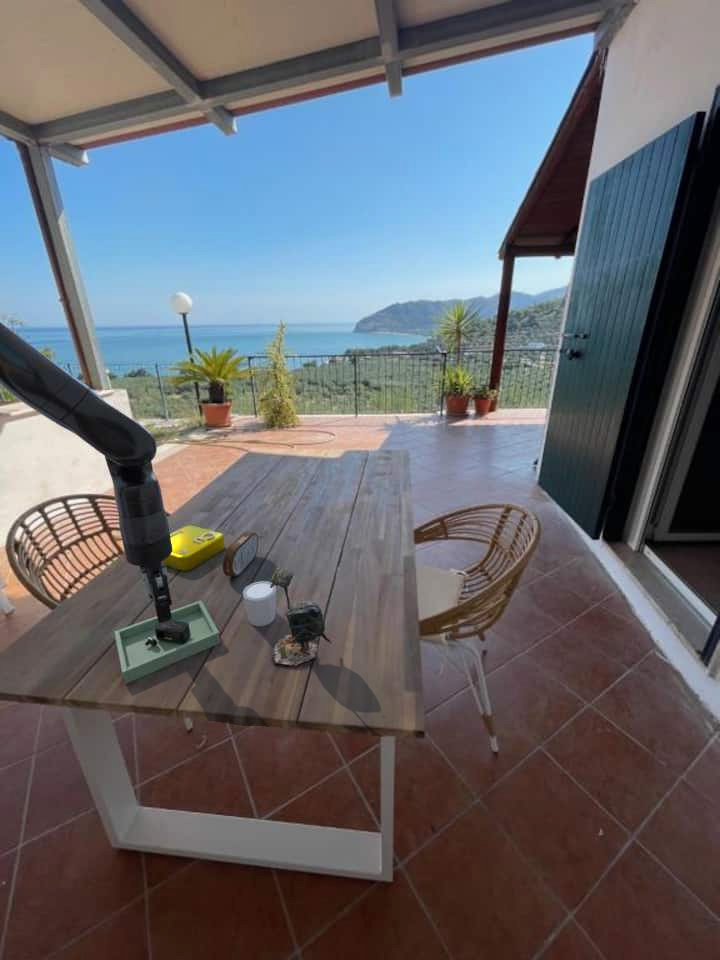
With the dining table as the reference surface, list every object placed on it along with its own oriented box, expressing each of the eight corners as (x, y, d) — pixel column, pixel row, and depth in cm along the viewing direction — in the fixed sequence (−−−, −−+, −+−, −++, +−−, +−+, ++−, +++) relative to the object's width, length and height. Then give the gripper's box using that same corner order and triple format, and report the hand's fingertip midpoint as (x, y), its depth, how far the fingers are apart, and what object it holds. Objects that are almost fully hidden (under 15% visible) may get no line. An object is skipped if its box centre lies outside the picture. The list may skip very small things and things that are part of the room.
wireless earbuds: (161, 631, 79) (158, 618, 78) (192, 636, 78) (190, 623, 77) (145, 647, 75) (141, 634, 74) (177, 653, 74) (174, 639, 72)
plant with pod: (324, 673, 70) (320, 578, 63) (265, 664, 72) (254, 571, 65) (334, 641, 77) (332, 553, 71) (281, 634, 79) (273, 547, 73)
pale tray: (125, 684, 68) (122, 672, 67) (117, 641, 77) (114, 631, 76) (220, 643, 77) (219, 632, 76) (202, 609, 87) (201, 600, 86)
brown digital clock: (251, 552, 110) (248, 525, 107) (261, 553, 110) (258, 526, 107) (223, 582, 96) (219, 552, 94) (234, 583, 96) (231, 553, 93)
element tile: (191, 536, 119) (188, 522, 117) (228, 547, 113) (226, 532, 111) (147, 559, 106) (143, 544, 105) (185, 573, 100) (183, 557, 99)
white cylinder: (239, 623, 82) (235, 595, 80) (258, 604, 88) (255, 577, 86) (266, 631, 80) (263, 603, 78) (284, 611, 86) (282, 584, 84)
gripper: (116, 523, 72) (132, 596, 78) (127, 555, 62) (145, 638, 67) (160, 514, 77) (172, 584, 82) (178, 542, 66) (190, 621, 71)
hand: (160, 608), depth 75 cm, fingers open, 8 cm apart
